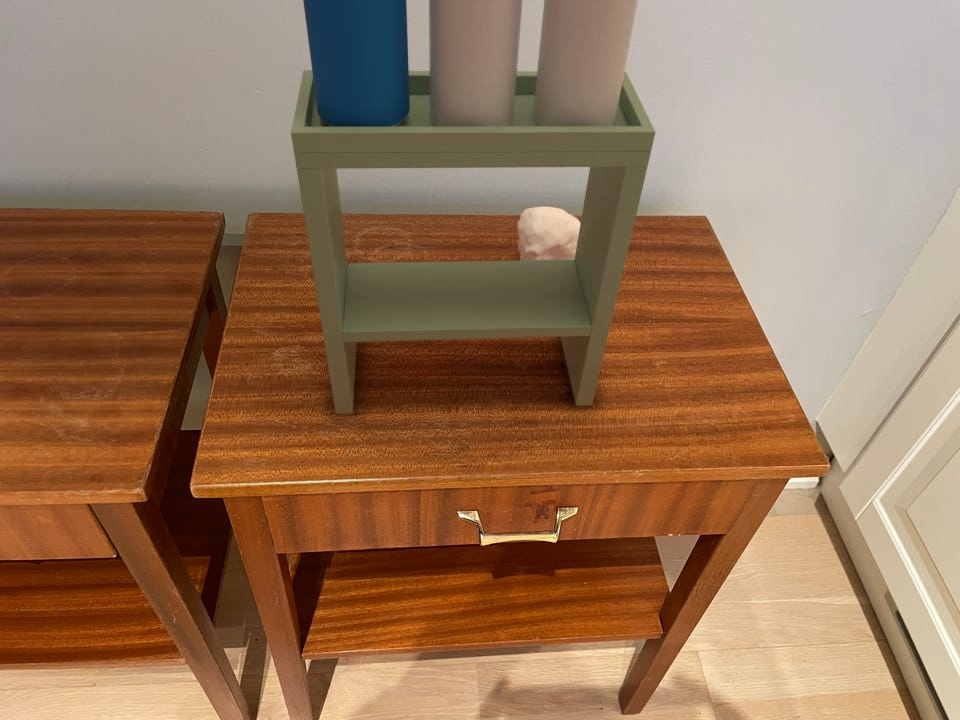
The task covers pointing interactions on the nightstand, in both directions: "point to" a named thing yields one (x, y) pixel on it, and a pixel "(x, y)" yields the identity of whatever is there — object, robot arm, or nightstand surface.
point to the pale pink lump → (547, 234)
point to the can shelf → (471, 139)
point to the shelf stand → (473, 286)
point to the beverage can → (359, 61)
